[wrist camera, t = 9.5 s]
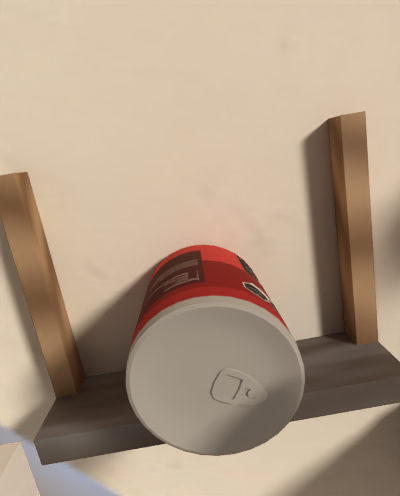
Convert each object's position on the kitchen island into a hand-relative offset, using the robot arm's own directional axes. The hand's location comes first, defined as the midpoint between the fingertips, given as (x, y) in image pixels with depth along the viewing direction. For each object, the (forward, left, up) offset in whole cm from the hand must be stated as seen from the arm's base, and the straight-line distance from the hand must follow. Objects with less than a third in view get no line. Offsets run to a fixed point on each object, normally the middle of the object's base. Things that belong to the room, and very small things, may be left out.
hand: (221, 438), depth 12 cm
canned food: (0, 0, -15) cm, 15 cm away
